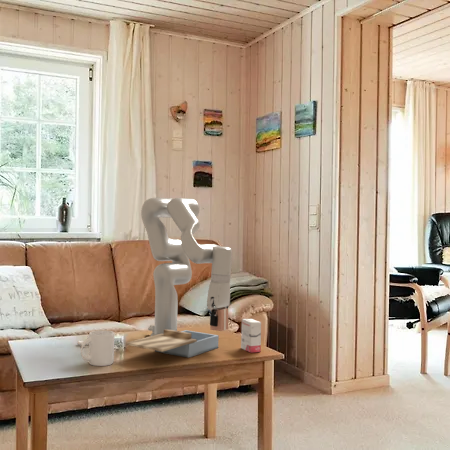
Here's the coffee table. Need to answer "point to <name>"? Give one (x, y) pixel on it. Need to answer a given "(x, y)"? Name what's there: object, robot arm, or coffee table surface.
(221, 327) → the parcel
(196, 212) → the robot arm
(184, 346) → the blue open box
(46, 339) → the coffee table surface
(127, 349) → the coffee table surface
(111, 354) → the mug
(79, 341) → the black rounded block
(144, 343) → the lid
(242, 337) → the ink box
